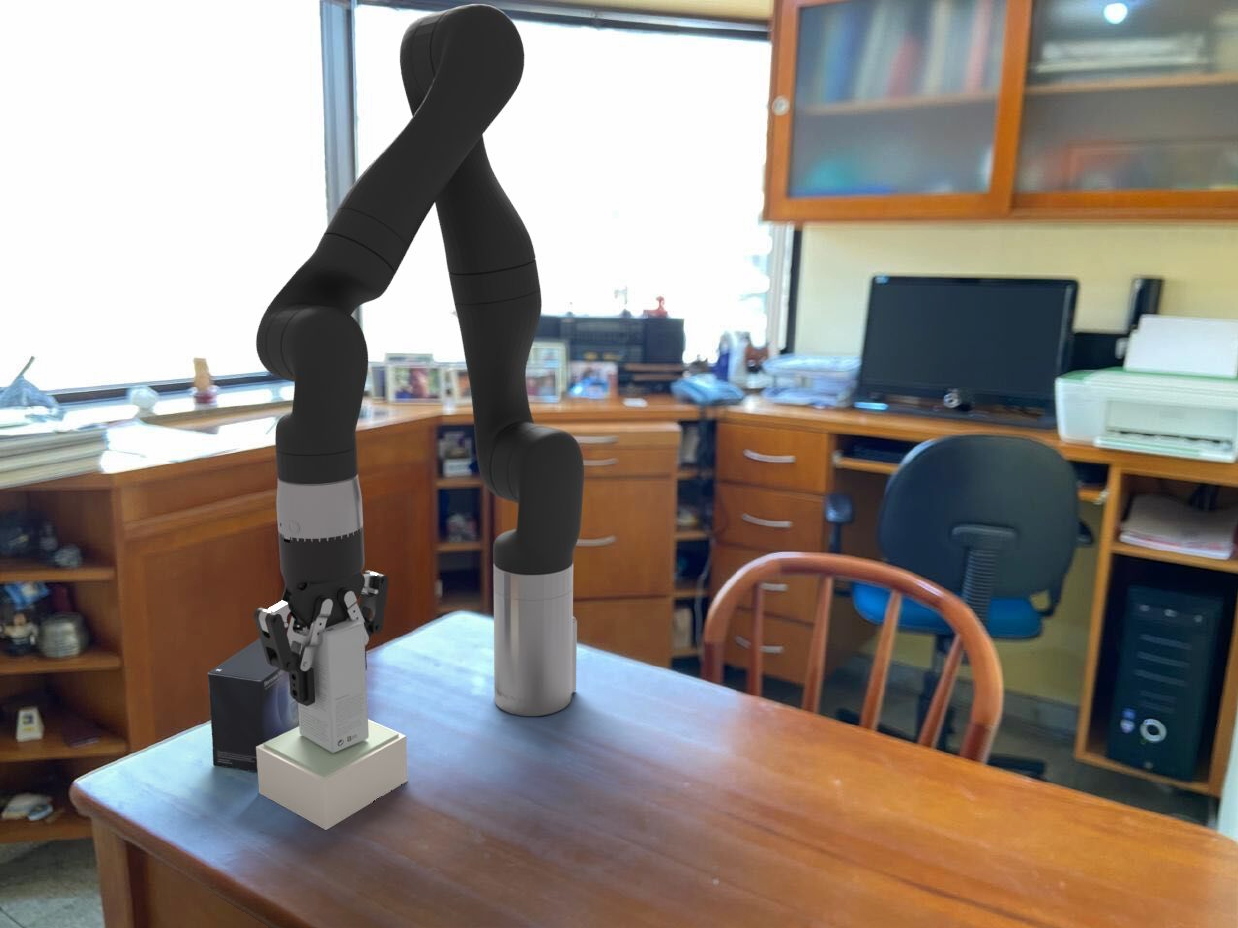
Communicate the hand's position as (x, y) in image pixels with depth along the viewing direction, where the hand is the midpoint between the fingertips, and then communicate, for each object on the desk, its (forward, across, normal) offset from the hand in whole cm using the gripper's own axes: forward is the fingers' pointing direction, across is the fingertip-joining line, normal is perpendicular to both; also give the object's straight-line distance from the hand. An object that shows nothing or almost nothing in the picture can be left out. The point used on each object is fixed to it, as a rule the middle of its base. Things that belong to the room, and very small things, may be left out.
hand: (330, 690), depth 89 cm
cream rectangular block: (+10, 0, 0) cm, 10 cm away
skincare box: (+5, 0, 0) cm, 5 cm away
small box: (+11, -1, -12) cm, 16 cm away
